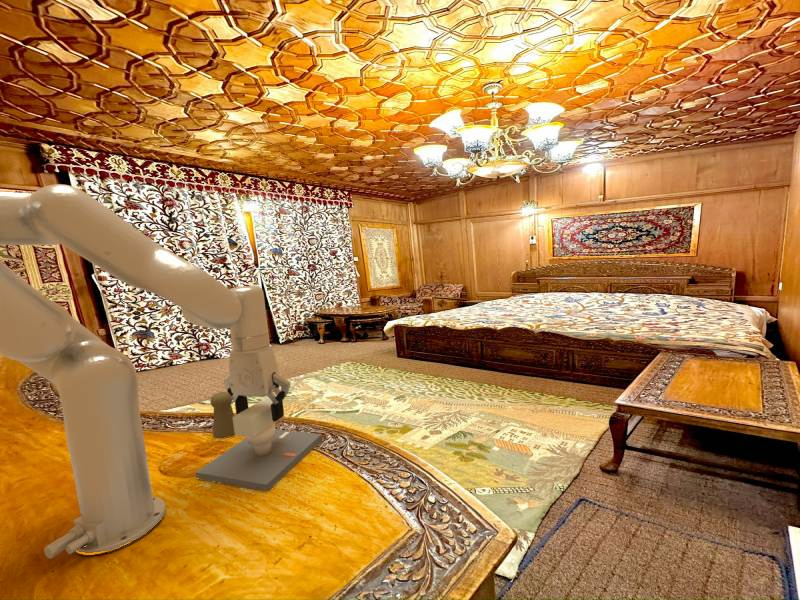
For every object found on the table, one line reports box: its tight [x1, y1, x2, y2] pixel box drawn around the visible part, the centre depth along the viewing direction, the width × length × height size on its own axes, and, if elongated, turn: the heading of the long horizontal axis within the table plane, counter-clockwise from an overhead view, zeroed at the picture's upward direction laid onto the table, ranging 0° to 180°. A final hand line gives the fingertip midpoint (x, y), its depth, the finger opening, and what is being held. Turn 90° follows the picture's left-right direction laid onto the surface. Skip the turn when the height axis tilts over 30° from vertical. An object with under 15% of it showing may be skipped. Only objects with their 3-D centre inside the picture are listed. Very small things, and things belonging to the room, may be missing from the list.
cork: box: [210, 391, 235, 439], centre depth 94 cm, size 6×6×11 cm
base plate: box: [195, 428, 323, 493], centre depth 80 cm, size 20×18×4 cm
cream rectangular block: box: [233, 398, 285, 445], centre depth 80 cm, size 10×6×7 cm, turn 162°
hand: (260, 417), depth 80 cm, fingers open, 9 cm apart
